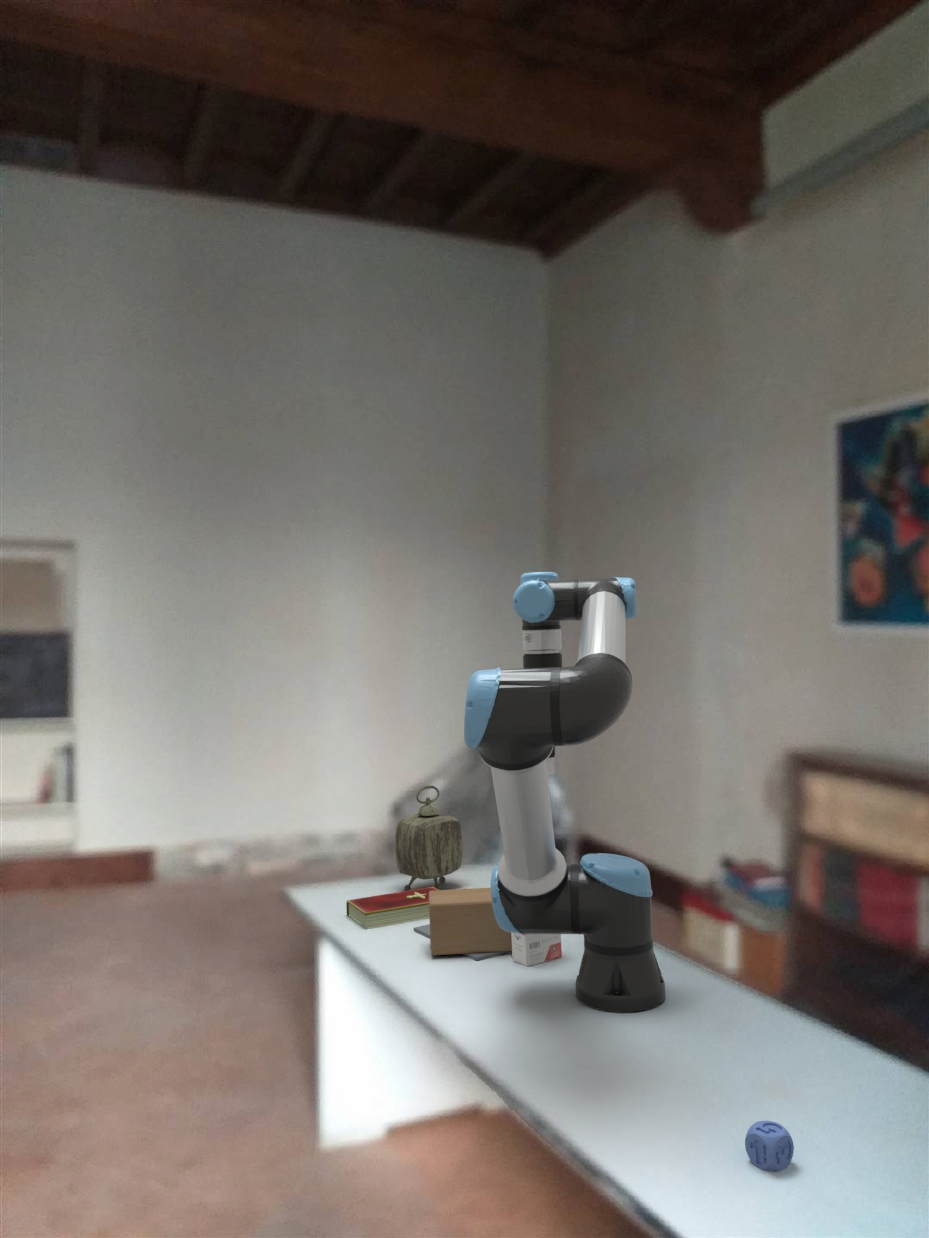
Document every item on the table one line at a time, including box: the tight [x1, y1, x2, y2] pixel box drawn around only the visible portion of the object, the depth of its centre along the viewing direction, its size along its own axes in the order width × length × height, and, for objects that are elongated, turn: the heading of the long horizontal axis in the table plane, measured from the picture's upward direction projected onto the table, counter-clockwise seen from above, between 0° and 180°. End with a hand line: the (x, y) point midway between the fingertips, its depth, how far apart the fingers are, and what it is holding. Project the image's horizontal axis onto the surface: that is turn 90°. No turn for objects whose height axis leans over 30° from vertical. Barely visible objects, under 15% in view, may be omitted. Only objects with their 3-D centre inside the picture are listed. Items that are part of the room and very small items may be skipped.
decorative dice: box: [744, 1120, 795, 1172], centre depth 119 cm, size 4×4×4 cm
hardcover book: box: [346, 886, 439, 930], centre depth 225 cm, size 12×21×4 cm, turn 116°
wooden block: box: [429, 887, 512, 956], centre depth 200 cm, size 10×10×20 cm
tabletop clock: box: [394, 785, 463, 891], centre depth 245 cm, size 14×9×25 cm, turn 130°
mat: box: [413, 923, 512, 962], centre depth 208 cm, size 24×19×1 cm
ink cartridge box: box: [511, 932, 563, 967], centre depth 193 cm, size 9×5×15 cm, turn 124°
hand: (546, 773), depth 196 cm, fingers closed
